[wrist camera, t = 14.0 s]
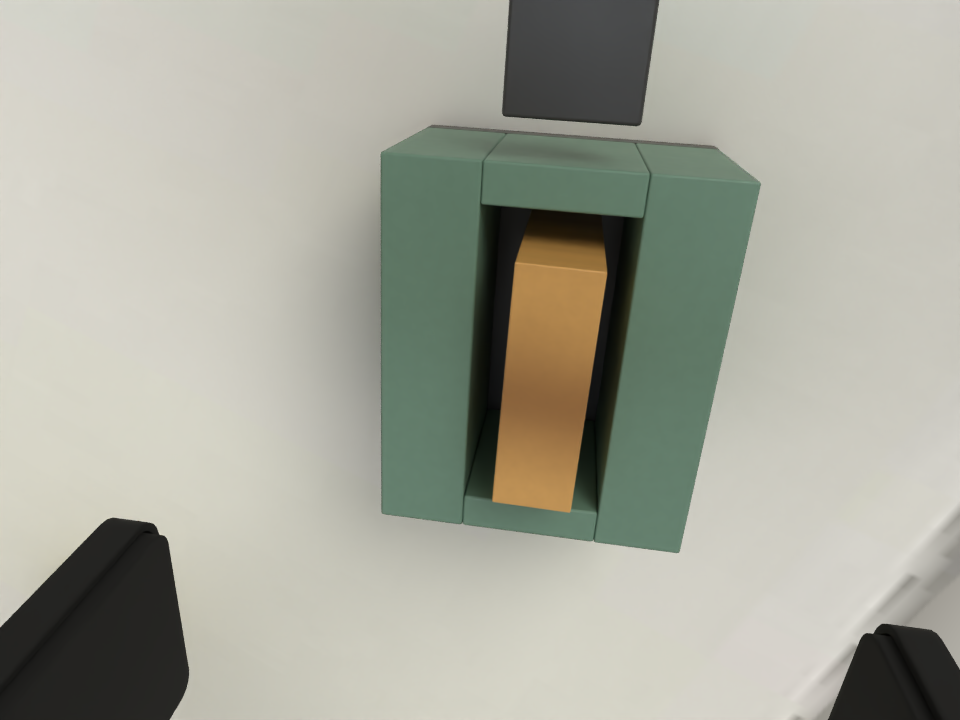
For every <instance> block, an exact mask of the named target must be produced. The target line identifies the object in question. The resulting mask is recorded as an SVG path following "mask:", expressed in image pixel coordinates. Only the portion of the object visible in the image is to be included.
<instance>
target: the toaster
mask: <svg viewBox="0 0 960 720" xmlns="http://www.w3.org/2000/svg"><path fill="white" fill-rule="evenodd" d="M760 186H761V184H760V182H759V181H758V180H756V179H755V178H754V177H753V176H751V175H750V174H749V173H748V172H746V171H745V170H744V169H743V168H741V167H740V166H739V165H737V164H736V163H735V162H734V161H732V160H731V159H730V158H729V157H727V156H726V155H725V154H724V153H722V152H721V151H720V150H719V149H718V148H716V147H715V146H706V145H693V144H680V143H666V142H653V141H640V140H627V139H613V138H600V137H587V136H574V135H560V134H547V133H534V132H521V131H508V130H494V129H481V128H468V127H455V126H441V125H431V126H429V127H428V128H426V129H424V130H422V131H420V132H418V133H417V134H415V135H413V136H411V137H409V138H407V139H405V140H403V141H402V142H400V143H398V144H396V145H394V146H392V147H390V148H388V149H387V150H385V151H383V152H381V509H382V514H387V515H394V516H402V517H410V518H417V519H425V520H432V521H440V522H447V523H455V524H461V523H462V522H463V524H465V525H471V526H479V527H486V528H494V529H501V530H509V531H516V532H524V533H532V534H539V535H547V536H554V537H562V538H569V539H577V540H584V541H593V539H594V542H598V543H605V544H613V545H620V546H628V547H635V548H643V549H651V550H658V551H666V552H673V553H679V551H680V547H681V543H682V538H683V534H684V529H685V525H686V520H687V516H688V511H689V506H690V502H691V497H692V493H693V488H694V484H695V479H696V475H697V470H698V466H699V461H700V457H701V452H702V448H703V443H704V439H705V434H706V430H707V425H708V421H709V416H710V412H711V407H712V402H713V398H714V393H715V389H716V384H717V380H718V375H719V371H720V366H721V362H722V357H723V353H724V348H725V344H726V339H727V335H728V330H729V326H730V321H731V317H732V312H733V308H734V303H735V299H736V294H737V289H738V285H739V280H740V276H741V271H742V267H743V262H744V258H745V253H746V249H747V244H748V240H749V235H750V231H751V226H752V222H753V217H754V213H755V208H756V204H757V199H758V195H759V190H760ZM532 209H539V210H551V211H563V212H574V213H586V214H597V215H602V225H603V235H604V245H605V255H606V265H607V279H606V285H605V292H604V298H603V305H602V311H601V318H600V324H599V331H598V337H597V344H596V350H595V357H594V363H593V370H592V376H591V383H590V389H589V396H588V402H587V409H586V415H585V422H584V428H583V435H582V441H581V448H580V454H579V461H578V467H577V474H576V480H575V487H574V493H573V500H572V506H571V512H570V513H567V512H560V511H553V510H546V509H539V508H532V507H525V506H518V505H511V504H504V503H497V502H493V501H492V495H493V485H494V474H495V464H496V453H497V443H498V432H499V422H500V411H501V401H502V390H503V380H504V369H505V359H506V349H507V338H508V328H509V317H510V307H511V296H512V286H513V275H514V265H515V261H516V258H517V254H518V251H519V248H520V245H521V242H522V239H523V236H524V233H525V229H526V226H527V223H528V220H529V217H530V214H531V211H532Z"/></svg>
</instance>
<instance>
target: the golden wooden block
mask: <svg viewBox="0 0 960 720" xmlns="http://www.w3.org/2000/svg"><path fill="white" fill-rule="evenodd" d="M606 279H607V265H606V255H605V245H604V235H603V225H602V215H597V214H586V213H574V212H563V211H551V210H539V209H532V211H531V214H530V217H529V220H528V223H527V226H526V229H525V233H524V236H523V239H522V242H521V245H520V248H519V251H518V254H517V258H516V261H515V265H514V275H513V286H512V296H511V307H510V317H509V328H508V338H507V349H506V359H505V369H504V380H503V390H502V401H501V411H500V422H499V432H498V443H497V453H496V464H495V474H494V485H493V495H492V501H493V502H497V503H504V504H511V505H518V506H525V507H532V508H539V509H546V510H553V511H560V512H567V513H570V512H571V506H572V500H573V493H574V487H575V480H576V474H577V467H578V461H579V454H580V448H581V441H582V435H583V428H584V422H585V415H586V409H587V402H588V396H589V389H590V383H591V376H592V370H593V363H594V357H595V350H596V344H597V337H598V331H599V324H600V318H601V311H602V305H603V298H604V292H605V285H606Z"/></svg>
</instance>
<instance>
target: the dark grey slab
mask: <svg viewBox="0 0 960 720" xmlns="http://www.w3.org/2000/svg"><path fill="white" fill-rule="evenodd" d="M658 6H659V0H509V15H508V31H507V46H506V61H505V76H504V91H503V106H502V114H503V115H504V116H505V117H519V118H532V119H546V120H559V121H573V122H587V123H600V124H614V125H627V126H639V125H640V124H641V122H642V115H643V108H644V102H645V95H646V88H647V81H648V74H649V67H650V60H651V54H652V47H653V40H654V33H655V26H656V19H657V12H658Z"/></svg>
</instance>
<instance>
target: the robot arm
mask: <svg viewBox="0 0 960 720" xmlns="http://www.w3.org/2000/svg"><path fill="white" fill-rule="evenodd" d="M188 679H189V667H188V661H187V655H186V649H185V643H184V637H183V630H182V624H181V618H180V612H179V606H178V600H177V594H176V587H175V581H174V575H173V569H172V563H171V557H170V551H169V544H168V541H167V538H166V537H165V536H162V535H159V533H158V530H157V527H156V526H155V525H154V524H152V523H148V522H141V521H133V520H126V519H119V518H110V519H107V520H106V521H104V522H103V523H102V524H101V525H100V526H99V527H98V528H97V529H96V530H95V531H94V532H93V533H92V534H91V535H90V536H89V537H88V538H87V539H86V540H85V541H84V542H83V543H82V544H81V545H80V546H79V547H78V548H77V549H76V550H75V551H74V552H73V553H72V554H71V556H70V557H69V558H68V559H67V560H66V561H65V562H64V563H63V564H62V565H61V566H60V567H59V568H58V569H57V570H56V571H55V572H54V573H53V574H52V575H51V576H50V577H49V578H48V579H47V580H46V581H45V582H44V583H43V584H42V585H41V586H40V587H39V588H38V589H37V590H36V591H35V592H34V594H33V595H32V596H31V597H30V598H29V599H28V600H27V601H26V602H25V603H24V604H23V605H22V606H21V607H20V608H19V609H18V610H17V611H16V612H15V613H14V614H13V615H12V616H11V617H10V618H9V619H8V620H7V621H6V622H5V623H4V624H3V625H2V626H1V627H0V720H170V718H171V716H172V715H173V713H174V711H175V710H176V708H177V706H178V705H179V703H180V701H181V700H182V698H183V696H184V693H185V691H186V688H187V684H188ZM828 720H960V669H959V667H958V666H957V664H956V662H955V661H954V659H953V658H952V656H951V654H950V652H949V651H948V649H947V647H946V646H945V644H944V642H943V641H942V639H941V638H940V637H939V636H938V635H937V633H935V632H933V631H932V630H927V629H920V628H913V627H906V626H898V625H891V624H881V625H880V626H878V627H877V629H876V630H875V632H874V634H870V633H866V634H864V635H863V636H862V638H861V639H860V642H859V644H858V647H857V649H856V652H855V654H854V657H853V659H852V661H851V664H850V666H849V669H848V671H847V674H846V676H845V679H844V681H843V684H842V686H841V689H840V691H839V694H838V696H837V699H836V701H835V704H834V707H833V709H832V712H831V714H830V716H829V719H828Z"/></svg>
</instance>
